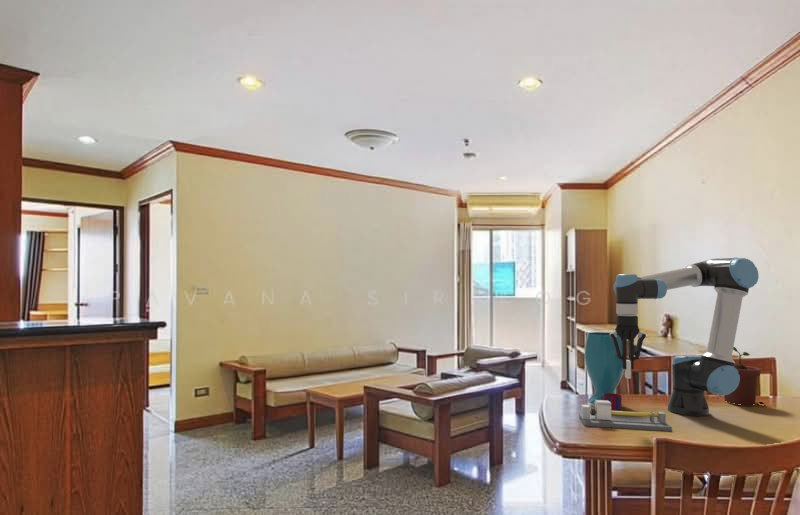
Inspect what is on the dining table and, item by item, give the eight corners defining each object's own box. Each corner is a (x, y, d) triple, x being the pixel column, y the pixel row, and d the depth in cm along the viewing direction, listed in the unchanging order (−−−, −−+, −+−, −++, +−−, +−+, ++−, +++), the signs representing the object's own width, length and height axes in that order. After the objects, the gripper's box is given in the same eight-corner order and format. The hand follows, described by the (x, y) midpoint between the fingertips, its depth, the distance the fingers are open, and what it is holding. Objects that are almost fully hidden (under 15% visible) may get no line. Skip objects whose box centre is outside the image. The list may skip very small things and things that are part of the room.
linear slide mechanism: (661, 422, 207) (661, 406, 207) (671, 431, 195) (671, 414, 195) (579, 417, 211) (579, 402, 211) (585, 425, 199) (585, 409, 200)
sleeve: (608, 416, 206) (608, 400, 206) (611, 420, 202) (611, 403, 202) (594, 416, 207) (594, 399, 207) (597, 419, 202) (597, 402, 203)
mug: (624, 413, 220) (625, 396, 221) (604, 414, 217) (605, 397, 217) (613, 409, 227) (613, 392, 227) (593, 410, 223) (593, 394, 224)
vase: (586, 405, 233) (587, 335, 234) (582, 396, 250) (582, 331, 251) (629, 408, 229) (629, 336, 230) (621, 399, 246) (622, 332, 247)
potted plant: (708, 399, 249) (708, 345, 250) (738, 396, 258) (738, 343, 259) (747, 408, 233) (747, 350, 234) (777, 404, 242) (777, 348, 243)
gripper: (642, 314, 207) (643, 376, 206) (606, 314, 209) (607, 375, 208) (648, 315, 200) (649, 380, 199) (611, 315, 202) (612, 379, 201)
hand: (628, 377), depth 204 cm, fingers closed
